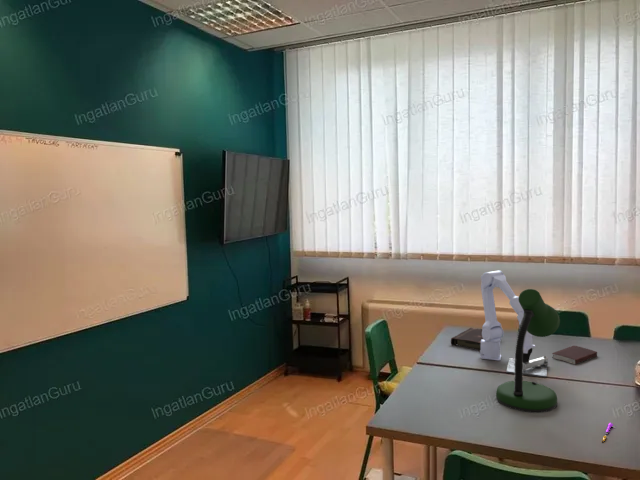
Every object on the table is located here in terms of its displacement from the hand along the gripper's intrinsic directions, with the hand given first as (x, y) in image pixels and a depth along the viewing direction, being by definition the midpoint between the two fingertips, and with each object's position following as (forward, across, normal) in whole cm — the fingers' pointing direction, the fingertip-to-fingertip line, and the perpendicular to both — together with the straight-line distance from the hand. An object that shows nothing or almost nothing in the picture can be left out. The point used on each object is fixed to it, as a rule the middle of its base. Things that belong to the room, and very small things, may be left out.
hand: (525, 363), depth 241 cm
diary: (+3, +35, +27) cm, 44 cm away
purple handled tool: (+3, -58, -29) cm, 65 cm away
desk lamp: (+3, -34, -3) cm, 34 cm away
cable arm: (+1, +2, -4) cm, 4 cm away
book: (+3, +26, -22) cm, 34 cm away
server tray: (+3, +1, -1) cm, 3 cm away
